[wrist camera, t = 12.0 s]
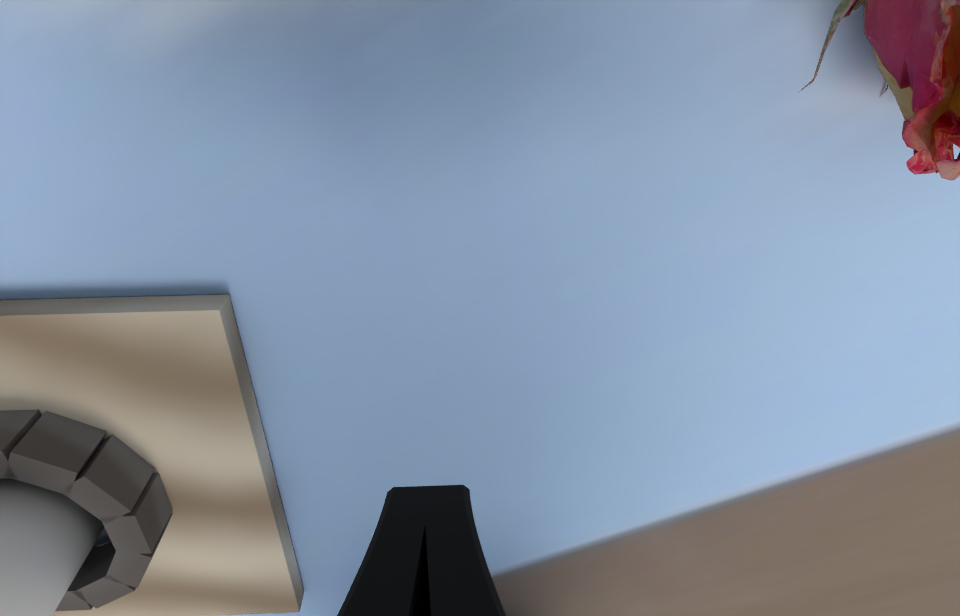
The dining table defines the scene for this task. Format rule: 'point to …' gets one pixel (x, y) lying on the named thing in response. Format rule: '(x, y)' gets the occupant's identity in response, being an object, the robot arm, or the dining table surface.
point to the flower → (917, 72)
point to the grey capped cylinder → (40, 547)
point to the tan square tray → (148, 452)
